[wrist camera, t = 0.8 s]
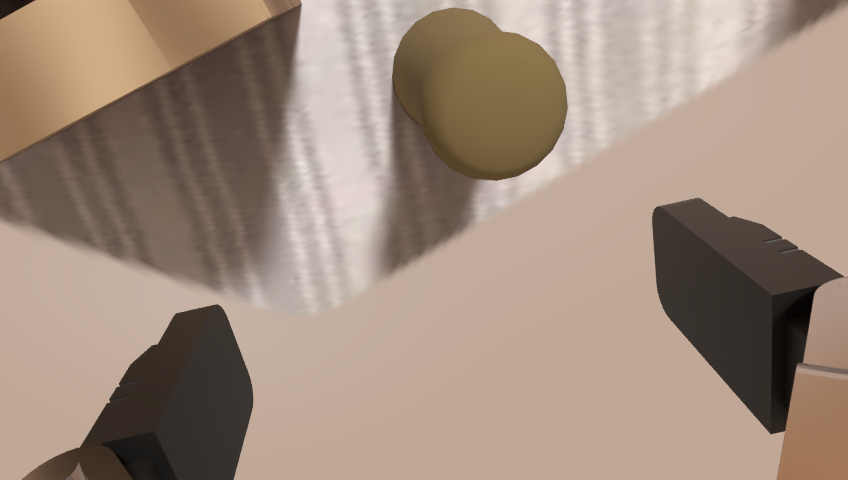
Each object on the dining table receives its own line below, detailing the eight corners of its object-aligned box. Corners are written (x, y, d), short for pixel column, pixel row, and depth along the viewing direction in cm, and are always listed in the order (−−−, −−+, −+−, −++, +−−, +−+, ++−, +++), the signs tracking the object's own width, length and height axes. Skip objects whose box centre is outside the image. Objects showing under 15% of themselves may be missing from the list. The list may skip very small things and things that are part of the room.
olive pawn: (468, 156, 33) (520, 234, 23) (368, 91, 31) (377, 144, 21) (538, 55, 31) (628, 89, 21) (438, -20, 30) (483, -21, 19)
